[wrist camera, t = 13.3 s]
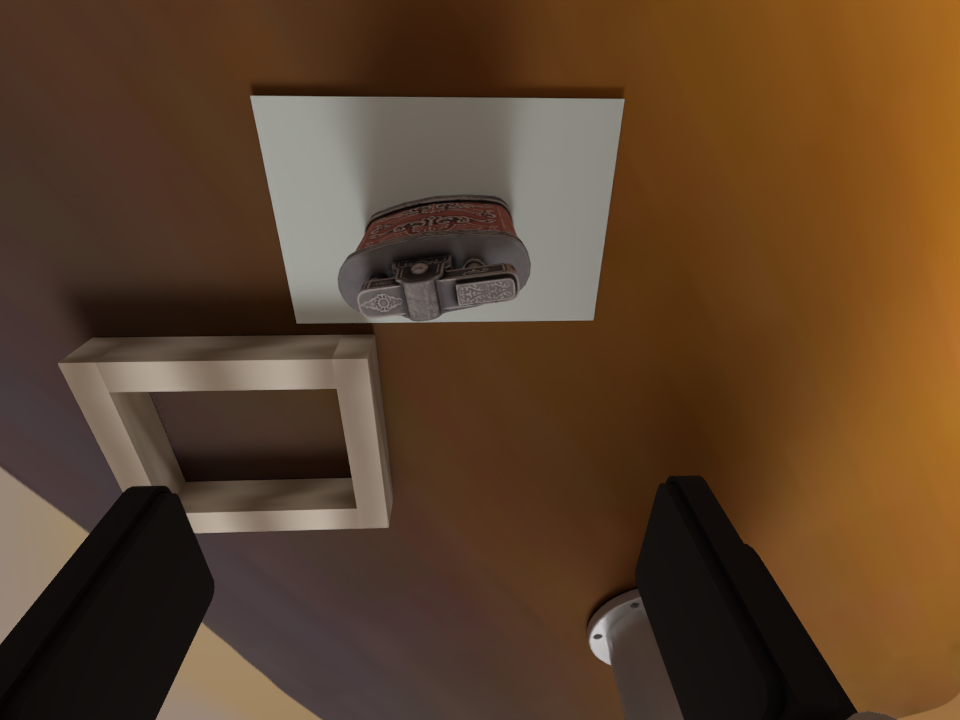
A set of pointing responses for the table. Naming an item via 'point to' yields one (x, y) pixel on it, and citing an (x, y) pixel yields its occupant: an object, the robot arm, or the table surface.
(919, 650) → the table surface
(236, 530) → the slot holder
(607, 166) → the mat
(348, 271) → the lighter
